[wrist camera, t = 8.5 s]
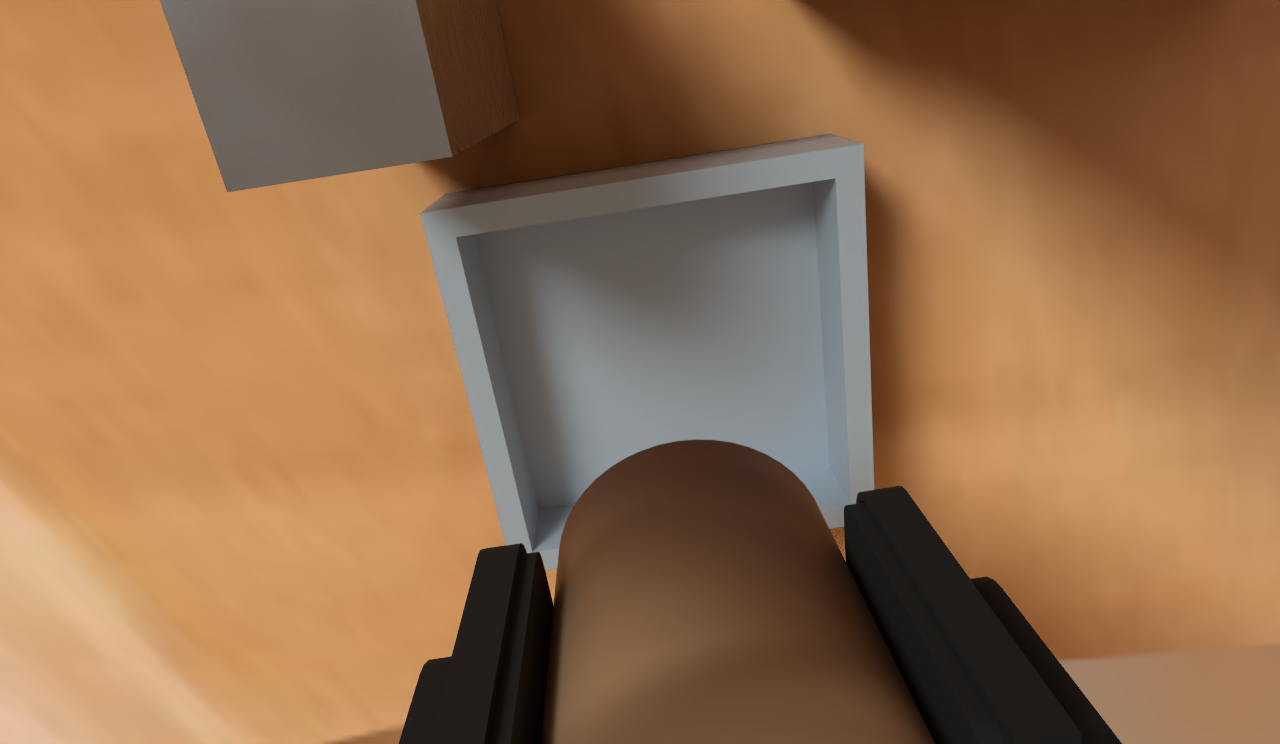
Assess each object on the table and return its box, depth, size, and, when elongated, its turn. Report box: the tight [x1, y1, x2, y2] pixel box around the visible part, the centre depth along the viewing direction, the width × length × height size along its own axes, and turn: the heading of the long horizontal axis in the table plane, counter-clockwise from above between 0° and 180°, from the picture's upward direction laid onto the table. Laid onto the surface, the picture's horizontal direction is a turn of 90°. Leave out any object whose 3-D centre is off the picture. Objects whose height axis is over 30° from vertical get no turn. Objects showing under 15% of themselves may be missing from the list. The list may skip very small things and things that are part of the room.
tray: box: [420, 134, 874, 570], centre depth 18 cm, size 9×9×2 cm
